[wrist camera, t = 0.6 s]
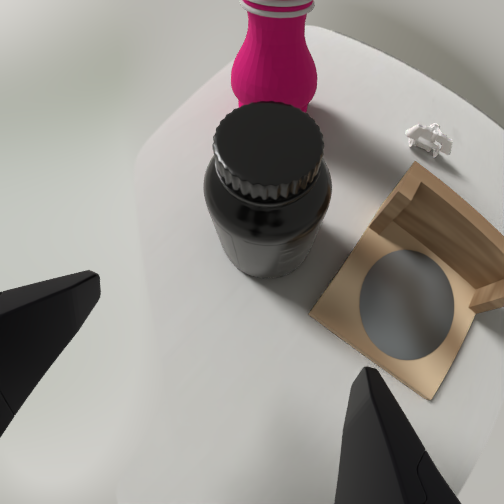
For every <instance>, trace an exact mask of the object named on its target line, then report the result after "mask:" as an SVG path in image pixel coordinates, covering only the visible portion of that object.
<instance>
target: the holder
mask: <svg viewBox="0 0 504 504" xmlns="http://www.w3.org/2000/svg"><path fill="white" fill-rule="evenodd" d="M500 307H504V236H503V235H502V234H501V233H500V232H499V231H498V230H497V229H496V228H495V227H494V226H493V225H491V224H490V223H489V222H488V221H487V220H486V219H485V218H484V217H483V216H482V215H481V214H480V213H479V212H477V211H476V210H475V209H474V208H473V207H472V206H471V205H470V204H468V203H467V202H466V201H465V200H464V199H463V198H461V197H460V196H459V195H458V194H457V193H456V192H454V191H453V190H452V189H451V188H450V187H448V186H447V185H446V184H445V183H443V182H442V181H441V180H440V179H438V178H437V177H436V176H435V175H433V174H432V173H431V172H429V171H428V170H427V169H425V168H424V167H423V166H421V165H420V164H419V163H417V162H416V161H414V163H413V164H412V166H411V167H410V168H409V170H408V171H407V172H406V174H405V175H404V176H403V178H402V179H401V180H400V182H399V183H398V184H397V186H396V187H395V188H394V190H393V191H392V192H391V193H390V195H389V196H388V197H387V199H386V200H385V201H384V203H383V204H382V205H381V207H380V208H379V210H378V211H377V213H376V215H375V216H374V218H373V219H372V221H371V223H370V224H369V226H368V227H367V229H366V230H365V232H364V234H363V235H362V237H361V238H360V240H359V241H358V243H357V244H356V246H355V247H354V249H353V250H352V252H351V253H350V255H349V256H348V258H347V259H346V261H345V262H344V264H343V265H342V267H341V268H340V270H339V271H338V273H337V274H336V276H335V277H334V278H333V280H332V281H331V283H330V284H329V286H328V287H327V289H326V290H325V291H324V293H323V294H322V296H321V297H320V298H319V300H318V301H317V303H316V304H315V305H314V307H313V308H312V310H311V311H310V312H309V314H308V315H310V316H311V317H312V318H314V319H315V320H316V321H318V322H319V323H320V324H322V325H323V326H325V327H326V328H327V329H329V330H330V331H331V332H333V333H334V334H335V335H337V336H338V337H340V338H341V339H342V340H344V341H345V342H346V343H348V344H349V345H351V346H352V347H353V348H355V349H356V350H357V351H359V352H360V353H362V354H363V355H364V356H366V357H367V358H369V359H370V360H371V361H373V362H374V363H375V364H377V365H378V366H380V367H381V368H382V369H384V370H385V371H387V372H388V373H389V374H391V375H392V376H394V377H395V378H396V379H398V380H399V381H401V382H402V383H403V384H405V385H406V386H408V387H409V388H410V389H412V390H413V391H415V392H416V393H417V394H419V395H420V396H422V397H423V398H425V399H428V400H431V399H432V398H433V396H434V394H435V393H436V391H437V389H438V388H439V386H440V384H441V382H442V381H443V379H444V377H445V375H446V374H447V372H448V370H449V368H450V366H451V364H452V362H453V360H454V359H455V357H456V355H457V353H458V351H459V349H460V347H461V345H462V343H463V341H464V338H465V336H466V334H467V332H468V330H469V328H470V325H471V323H472V321H473V319H474V316H475V314H477V313H481V312H485V311H489V310H493V309H497V308H500Z"/></svg>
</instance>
